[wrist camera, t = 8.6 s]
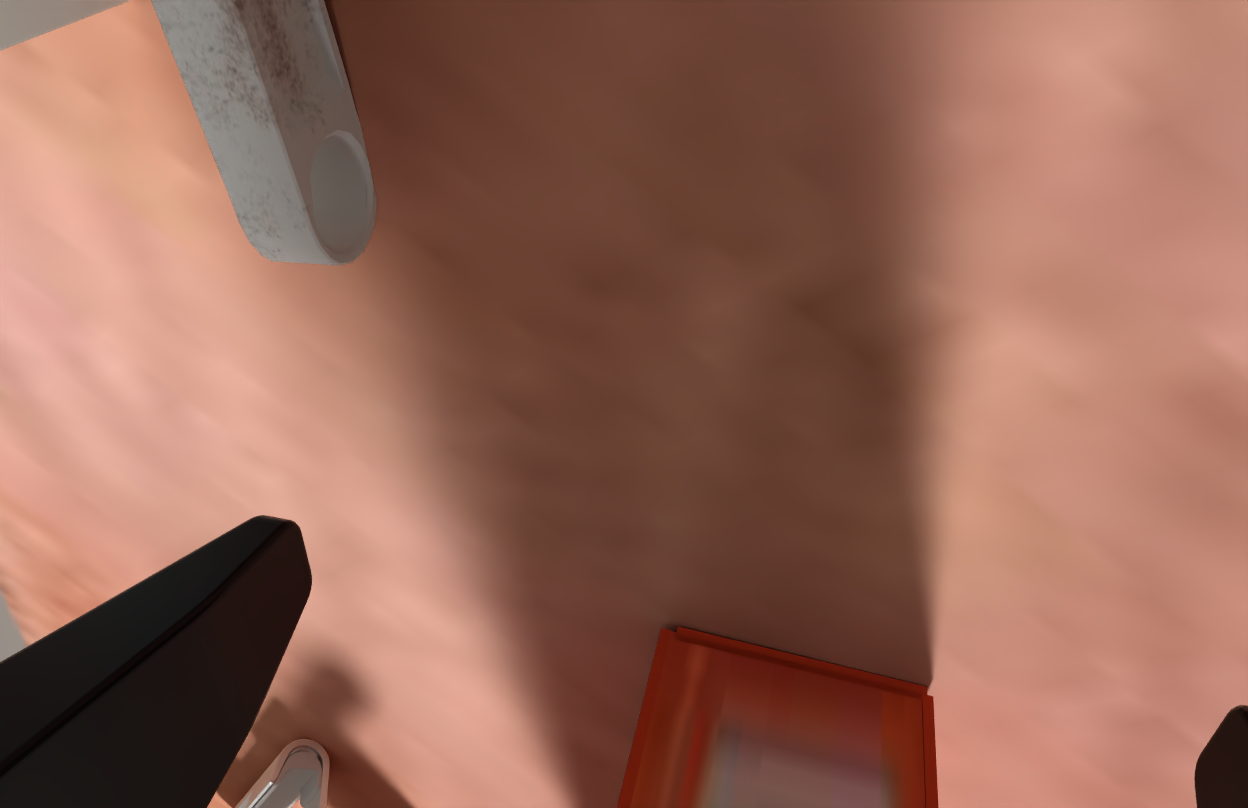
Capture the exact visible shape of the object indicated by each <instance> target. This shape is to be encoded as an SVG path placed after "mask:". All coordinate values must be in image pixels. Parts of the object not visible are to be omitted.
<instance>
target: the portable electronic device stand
mask: <svg viewBox="0 0 1248 808" xmlns="http://www.w3.org/2000/svg"><path fill="white" fill-rule="evenodd" d="M329 768H330V761H329V756H328V754H327V752H326V751H325V749H324V748H323V747H322V746H321V745H320V744H319V743H317V742H316V741H314V740H310V739H298V740H295V741H292V742H291V743H289V744H288V745H287V746H286V747H285V748H284V749H283V750H282V751H281V753H280V754H279V755H278V756H277V757H276V759H275V760H274V761H273V762H272V763H271V765H270V766H269V767H268V768H267V769H266V771H265V772H264V773H263V774H262V775H261V777H260V778H259V779H258V780H257V781H256V783H255V784H254V785H253V786H252V787H251V789H250V790H249V791H248V792H247V793H246V795H245V796H244V797H243V798H242V799H241V801H240V802H239V803H238V804H237V805H236V807H235V808H291V807H292V806H293V805H294V804H295V803H296V802H297V801H298V800H299V799H300V804H301V806H302V807H304V808H326V807H327V794H328V781H329Z"/></svg>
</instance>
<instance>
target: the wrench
mask: <svg viewBox="0 0 1248 808" xmlns="http://www.w3.org/2000/svg"><path fill="white" fill-rule="evenodd" d="M151 1H152V3H153V6H154V8H155V11H156V13H157V16H158V18H159V21H160V23H161V26H162V29H163V31H164V34H165V36H166V39H167V41H168V44H169V46H170V49H171V51H172V54H173V56H174V59H175V61H176V64H177V66H178V69H179V71H180V74H181V76H182V79H183V81H184V84H185V86H186V89H187V91H188V94H189V96H190V99H191V101H192V104H193V106H194V109H195V111H196V114H197V116H198V119H199V121H200V124H201V126H202V129H203V131H204V134H205V136H206V139H207V141H208V144H209V146H210V149H211V152H212V154H213V157H214V159H215V162H216V164H217V167H218V169H219V172H220V174H221V177H222V179H223V182H224V184H225V187H226V189H227V191H228V194H229V196H230V199H231V201H232V204H233V206H234V209H235V212H236V215H237V218H238V220H239V223H240V225H241V226H242V228H243V230H244V232H245V234H246V236H247V238H248V240H249V242H250V243H251V244H252V245H253V246H254V247H255V249H256V250H257V251H258V252H259V253H260V254H261V255H262V256H264V257H266V258H267V259H269V260H271V261H278V262H294V263H309V264H324V265H343V264H348V263H352V262H353V261H354V260H355V259H357V258H358V257H359V256H360V255H361V254H362V253H363V252H364V250H365V248H366V246H367V244H368V242H369V240H370V237H371V234H372V232H373V229H374V226H375V219H376V207H377V198H376V193H375V189H374V184H373V179H372V175H371V170H370V166H369V161H368V156H367V152H366V147H365V143H364V138H363V133H362V129H361V124H360V121H359V118H358V115H357V112H356V108H355V105H354V101H353V97H352V94H351V90H350V86H349V83H348V79H347V76H346V72H345V69H344V66H343V62H342V59H341V56H340V52H339V49H338V46H337V42H336V39H335V35H334V32H333V29H332V25H331V22H330V19H329V15H328V12H327V9H326V5H325V2H324V0H151Z"/></svg>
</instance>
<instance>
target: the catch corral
mask: <svg viewBox="0 0 1248 808" xmlns="http://www.w3.org/2000/svg"><path fill="white" fill-rule="evenodd" d="M128 1H131V0H0V50H3V49H5V48H8V47H11V46H13V45H16V44H18V43H21V42H24V41H26V40H29V39H31V38H34V37H37V36H39V35H42V34H45V33H47V32H50V31H52V30H55V29H58V28H60V27H63V26H65V25H68V24H71V23H73V22H76V21H79V20H81V19H84V18H86V17H89V16H92V15H94V14H97V13H99V12H102V11H105V10H107V9H110V8H113V7H115V6H118V5H120V4H123V3H126V2H128Z"/></svg>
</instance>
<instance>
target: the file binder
mask: <svg viewBox="0 0 1248 808" xmlns="http://www.w3.org/2000/svg"><path fill="white" fill-rule="evenodd" d="M617 808H938V790H937V768H936V747H935V725H934V703H933V696H929V695H927V687H926V686H922V685H918V684H914V683H909V682H905V681H901V680H897V679H893V678H889V677H885V676H881V675H876V674H872V673H868V672H864V671H860V670H856V669H852V668H848V667H843V666H839V665H835V664H831V663H827V662H823V661H819V660H815V659H810V658H806V657H802V656H798V655H794V654H790V653H786V652H782V651H777V650H773V649H769V648H765V647H761V646H757V645H753V644H749V643H744V642H740V641H736V640H732V639H728V638H724V637H720V636H716V635H712V634H707V633H703V632H699V631H695V630H691V629H687V628H683V627H679V626H678V629H677V633H675V632H671V630H667V629H663V628H661V630H660V635H659V639H658V643H657V647H656V651H655V655H654V659H653V663H652V667H651V671H650V675H649V679H648V683H647V688H646V692H645V696H644V700H643V704H642V708H641V712H640V716H639V720H638V724H637V728H636V732H635V736H634V741H633V745H632V749H631V753H630V757H629V761H628V765H627V769H626V773H625V777H624V781H623V785H622V789H621V794H620V798H619V802H618V806H617Z"/></svg>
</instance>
